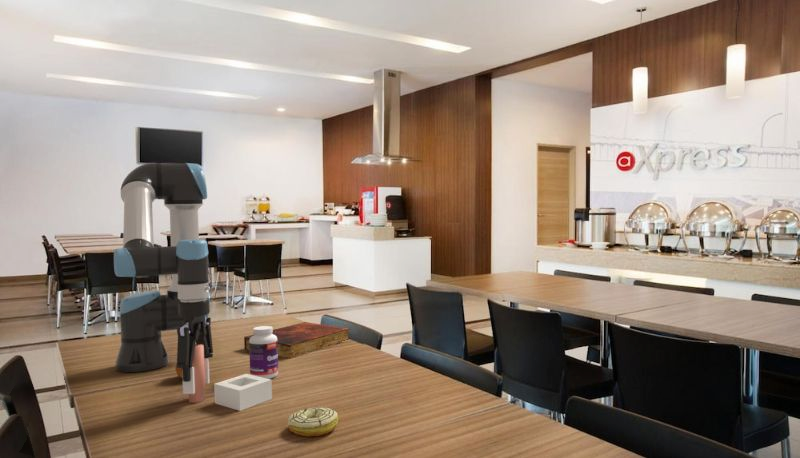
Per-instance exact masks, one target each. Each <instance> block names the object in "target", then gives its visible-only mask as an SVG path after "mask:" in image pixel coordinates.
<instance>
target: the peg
mask: <svg viewBox="0 0 800 458" xmlns="http://www.w3.org/2000/svg"><path fill="white" fill-rule="evenodd" d="M192 367H194V381H195V393H194V394H188V402H189V403H191V404H197V403H202V402H204V401H206V383H205V373H204V345H201V344H196V343H195V349H194V356H193V363H192Z"/></svg>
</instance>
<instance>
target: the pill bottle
mask: <svg viewBox="0 0 800 458" xmlns="http://www.w3.org/2000/svg"><path fill="white" fill-rule="evenodd" d="M252 329H253V335H254V336H252V337H251V338H250V340H249V350H248V351H249V352H248V353H249V374H250V375H254V376H258V377H262V378H267V379H273V378H275V377H277V376H278V374H279V356H278V344H277V337H276V336H275V335H274V334H272V332H273V330H274V328H273V326H271V325H270V326H269V325H261V326H255V327H252Z"/></svg>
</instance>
